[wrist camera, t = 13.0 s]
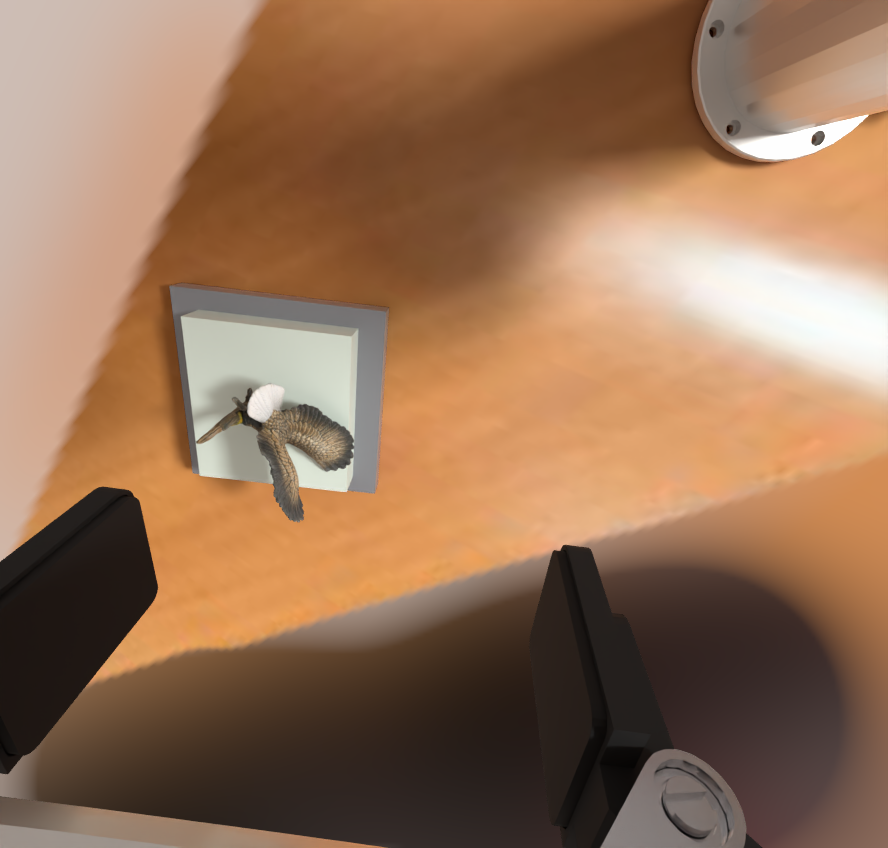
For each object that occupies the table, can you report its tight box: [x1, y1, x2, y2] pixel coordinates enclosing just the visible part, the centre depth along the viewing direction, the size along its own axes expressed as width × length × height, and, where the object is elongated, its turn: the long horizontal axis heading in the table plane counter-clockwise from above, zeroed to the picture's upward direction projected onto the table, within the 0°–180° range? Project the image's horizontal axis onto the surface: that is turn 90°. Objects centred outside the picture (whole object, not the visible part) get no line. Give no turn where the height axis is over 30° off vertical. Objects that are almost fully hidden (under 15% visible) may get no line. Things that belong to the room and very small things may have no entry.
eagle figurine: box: [196, 383, 355, 522], centre depth 34 cm, size 8×7×9 cm
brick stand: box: [169, 283, 389, 493], centre depth 38 cm, size 16×16×5 cm
